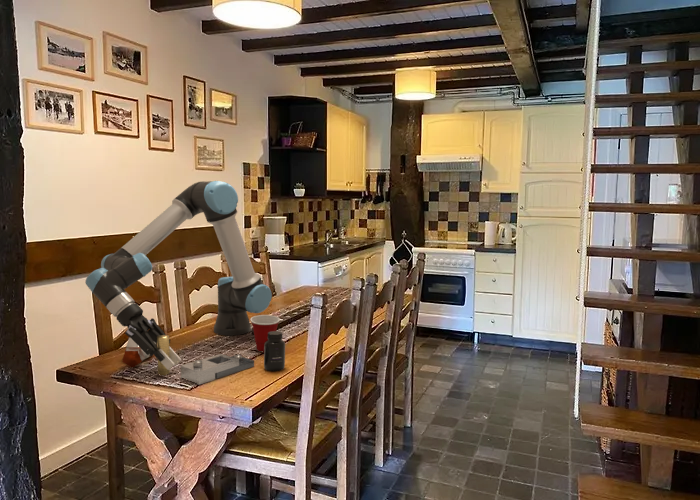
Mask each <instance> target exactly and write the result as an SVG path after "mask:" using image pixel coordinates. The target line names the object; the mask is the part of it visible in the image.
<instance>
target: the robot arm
mask: <svg viewBox="0 0 700 500" xmlns="http://www.w3.org/2000/svg"><path fill="white" fill-rule="evenodd" d="M238 203H239V196H238V193H237V190H236V189H235V188H234V187H233V186H232V185H231V184H230V183H228V182H225V181H221V180H213V181H211V180H209V181H198V182H195V183H192V184H191V185H190V186H188V187H187V188H186V189H184V190H183V191H182V192H181V193H179V194H178V195H176V197H174V198H173V199H172V203H171V204H170V205H169V206H168V207H167V208H165V210H164V211H163V212H161V213H160V214H159V215H158V216H156V217H155V219H153V220H152V221H151V222H150V223H149V224H147V225H146V226H145V227H144V228H142V230H140V231H139V232H138V233H137V234H136V235H135V236H133V237H132V238H130V240H128V241H127V242H126V243H125V244H124V245H123V246H121V247H120V248H119V249H118V250H116V252H114V253H110V254H107V255H105V256H103V258H102V259H101V263H100V267H99V268H98V269H95V270H93V271H92V272H91V273H90V274H88V276H87V277H86V278H85V285H86V287H88V289H89V290H90V291H91V293H92V294H93V295H94V296H95V298H97V299H98V300H99V302H100V303H102V304H103V306H104V307H105V308H106V310H108V311H109V312H110V314H111V315H112V316H113V317H114V318H116V320H117V321H118V323H119V324H120V325H121V326H122V327H127V330H126V331H125V332H124V334H125V335H126V336H127V337H128V338H131V339H132V340H133V341H134V342H135V343H136V344H137V345H138V346H139V347H140V348H141V349H142V350H143V351H144V352H145V353H146V354H147V355H149V354H150V356H149V357H153V356H154V357H155V358H156V359H158V360H159V361H160V362H161V363H162V364H163V365H164V366H165V367H166V368H167V370H169V369H170V370H171V368H172V367H174V366H177V365H178V364H179V363H180V362H181V361H182V358H181V357H180V356H179V355H178V354H177V353H176V352H175V350H174V349H173V348H172V347H171V346H170V345H169V351H170V358H169V357H168V356H167V355H166V353H165V352H164V351H163V350H162V349H159V348H158V347H157V346H156V344H157V336H160V335H167V334H166V333H165V331H164V330H163V329H162V328H161V327H160V326H159V325H158V324H157V322H156V320H155V319H154V318H150V319H148V318H147V317H146V316H144V315H143V313H144V310H143V309H142V308H141V306H140V305H138V303H136V302H135V300H134V299H133V297H132V296H131V295H130V294H129V293H128V292H127V291H126V289H127V288H128V287H130V286H132V285H134V284H135V283H136V282H138V281H139V280H141V279H143V278H145V277H146V276H147V275H148V274H149V273H151V272H152V271H153V265H152V262H151V261H150V259H149V257H147V254H149V253H150V252H152V250H153V249H155V248H156V247H157V246H158V245H159V244H160V243H162V242H163V241H164V240H165V239H166V238H167V237H168V236H169V235H171V234H172V233H173V232H174V231H175V230H176V229H177V228H179V226H181V225H182V224H184V222H186V221H187V220H192V219H193V218H194V217H196V216H197V215H199V214H201V213H203V214H204V217H205V219H206V221H207V223H209V224H211V225H212V226H213V229H214V231H215V234H216V237H217V240H218V242H219V244H220V247H221V251H222V252H223V256H224V258H225V261H226V263H227V266H228V269H229V271H230V274H231V276H225V277H220V278H218V281H217V316H216V319H215V323H214V325H213V332H214V333H215V334H216V335H222V336H238V335H244V334H247V333H249V332H251V330H252V323H251V321H250V318H249V316H248V313H250V314H260V313H262V312H264V311H266V309H268V307H269V306H270V304H271V302H272V297H273V294H272V291H271V288H270V287H269V285H266V284H264V282H263V280H262V278H261V275H260V274H259V273H256V271H255V269H254V267H253V265H252V262H251V261H252V260H251V258H250V256H249V253H248V250H247V247H246V245H245V242H244V238H243V236H242V233H241V230H240V228H239V224H238V222H237V219H236V216H237V214H238V209H237V207H238ZM162 330H163V331H164V332H163V331H162ZM154 342H155V343H156V344H155V343H154ZM169 344H171V339H170V338H169Z"/></svg>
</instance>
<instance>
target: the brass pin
mask: <svg viewBox="0 0 700 500" xmlns="http://www.w3.org/2000/svg"><path fill="white" fill-rule="evenodd" d="M169 339H170V335H168V334H166V335H160V336H157V347H158V348H159V349H162V350H163V351H164V352H165V353H166V355H167V356H168V357H169V358H170V351H169V346H170V343H169ZM156 359H157V358H156ZM169 373H170V374H171V368H170V369H169V370H167V368H166V367H165V366H164V365H163V364H162V363H161V362H160V361H159V360H158V359H157V375H158V374H160V375H164V376H167V375H166V374H168V375H170V374H169ZM160 375H159V376H160Z"/></svg>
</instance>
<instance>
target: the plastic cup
mask: <svg viewBox="0 0 700 500" xmlns="http://www.w3.org/2000/svg"><path fill="white" fill-rule="evenodd" d="M249 321H250V323H251V327H252V329H253V336H254V341H255V347H256V350H258V352H259V351H263V352H262V353H264V344H265V342H266V341H267V340H268V338H267V337H268V332H271V331H278V330H277V329H278V326H279V322H280V321H281V318H280V317H279V316H275V315H270V314H260V315H254V316H252V317H251V318H249Z"/></svg>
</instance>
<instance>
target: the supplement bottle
mask: <svg viewBox="0 0 700 500" xmlns="http://www.w3.org/2000/svg"><path fill="white" fill-rule="evenodd" d="M283 337H284V336H283V332H282V331H279V330H276V331H271V332H268V337H267V338H268V340H267V341H266V342H265V344H264V352H263V367H264V370H265V371H267V372H268V371H269V372H280V371H282V370H284V369H285V367H286V342H285V340H283Z"/></svg>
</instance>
